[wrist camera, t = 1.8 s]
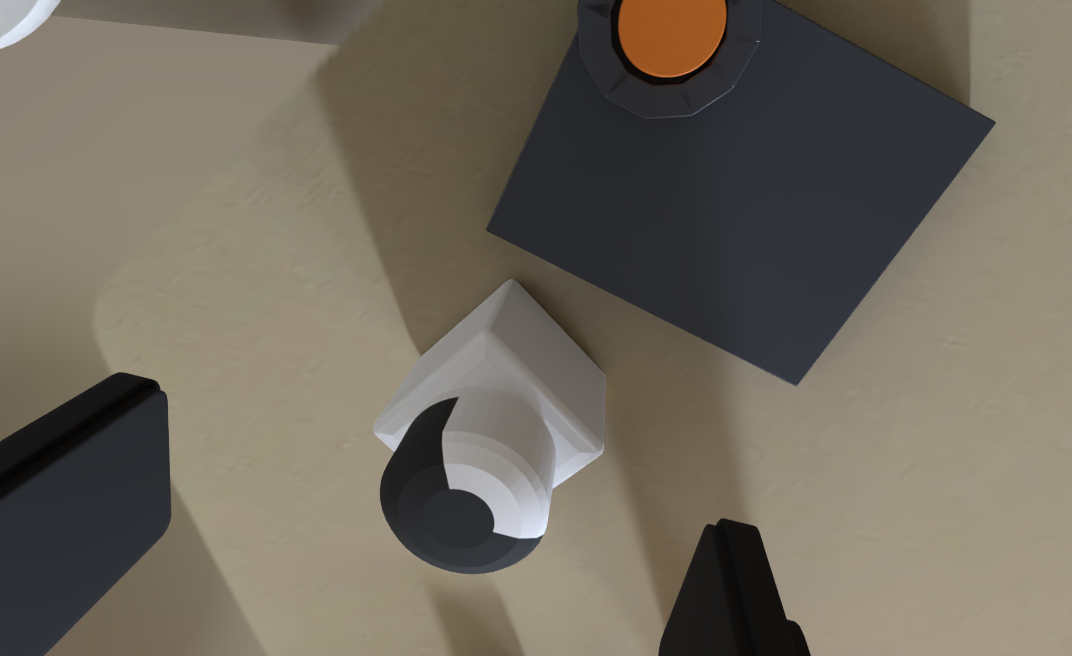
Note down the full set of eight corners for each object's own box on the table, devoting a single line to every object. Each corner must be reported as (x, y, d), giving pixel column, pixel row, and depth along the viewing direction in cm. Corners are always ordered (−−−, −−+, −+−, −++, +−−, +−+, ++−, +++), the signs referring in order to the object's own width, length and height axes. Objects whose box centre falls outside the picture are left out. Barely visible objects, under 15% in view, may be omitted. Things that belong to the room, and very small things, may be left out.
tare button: (600, 49, 24) (599, 47, 22) (648, -52, 22) (651, -62, 21) (685, 94, 24) (690, 95, 22) (738, -3, 22) (747, -9, 21)
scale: (487, 219, 30) (472, 236, 26) (630, -94, 24) (633, -120, 21) (786, 369, 31) (806, 404, 28) (984, 101, 26) (1038, 105, 22)
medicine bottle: (509, 450, 34) (459, 629, 23) (415, 359, 33) (315, 504, 22) (609, 375, 32) (607, 534, 21) (513, 274, 31) (456, 387, 19)
